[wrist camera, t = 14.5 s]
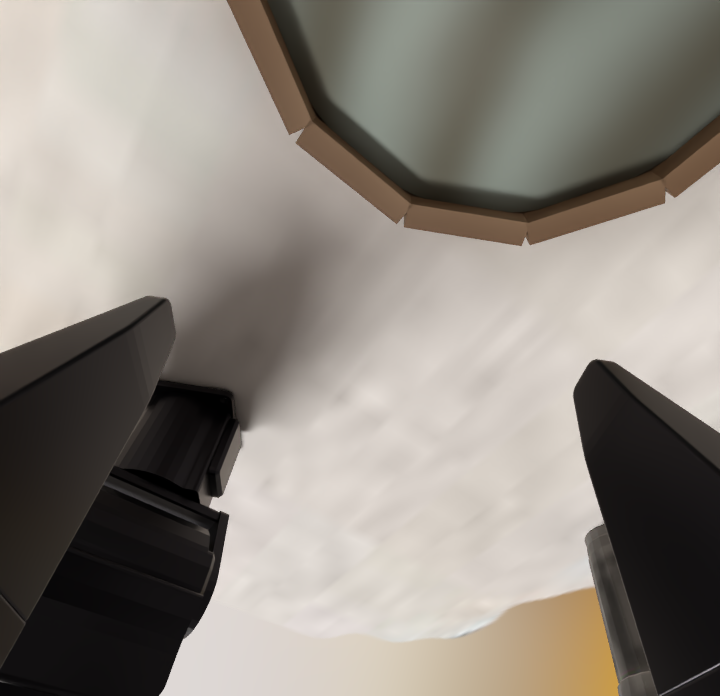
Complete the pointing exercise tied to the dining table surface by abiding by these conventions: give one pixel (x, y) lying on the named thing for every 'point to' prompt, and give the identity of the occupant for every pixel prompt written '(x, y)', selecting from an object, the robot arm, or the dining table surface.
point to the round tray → (497, 104)
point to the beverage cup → (618, 618)
